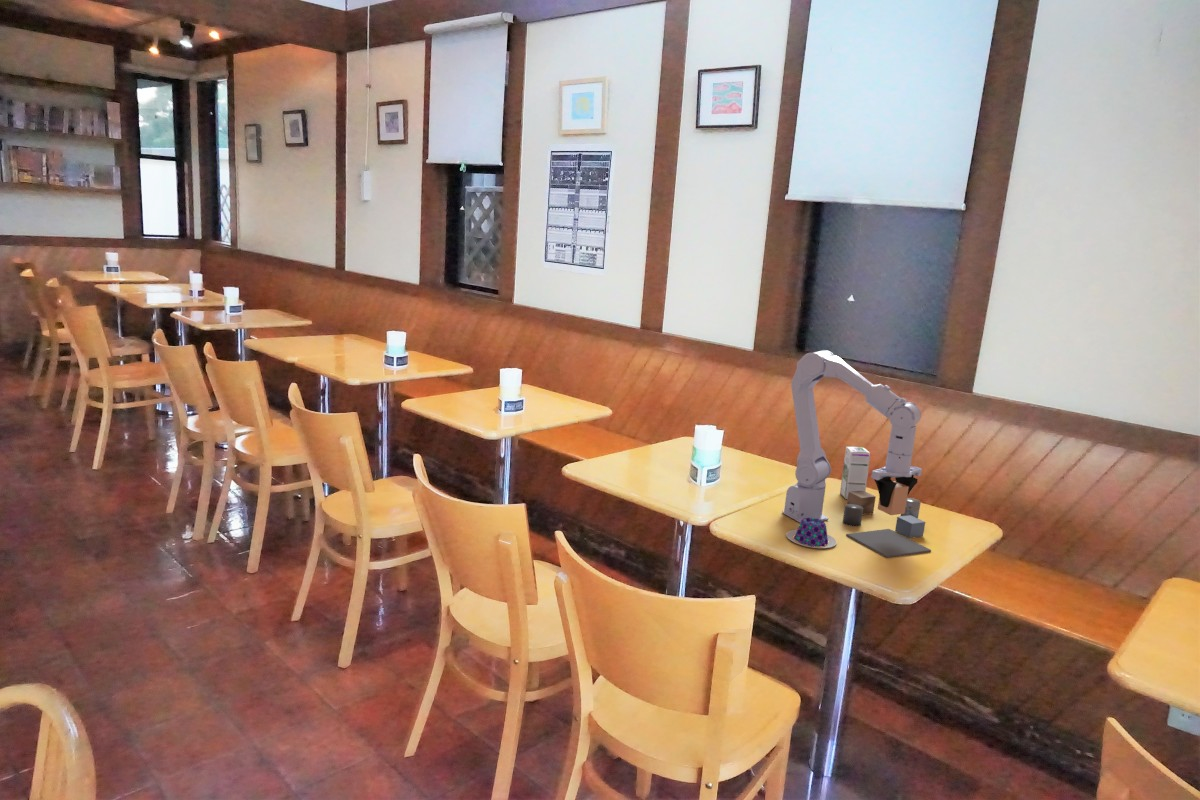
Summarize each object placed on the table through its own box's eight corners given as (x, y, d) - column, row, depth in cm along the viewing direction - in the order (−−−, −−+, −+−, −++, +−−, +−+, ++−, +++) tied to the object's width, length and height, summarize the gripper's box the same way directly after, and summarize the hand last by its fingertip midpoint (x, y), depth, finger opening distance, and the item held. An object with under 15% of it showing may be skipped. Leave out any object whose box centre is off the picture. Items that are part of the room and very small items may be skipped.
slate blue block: (909, 538, 201) (912, 523, 200) (895, 531, 206) (897, 516, 205) (922, 536, 203) (925, 522, 202) (908, 529, 207) (910, 515, 207)
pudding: (781, 530, 201) (783, 510, 200) (828, 533, 201) (831, 514, 200) (791, 549, 189) (794, 528, 188) (842, 552, 189) (845, 532, 188)
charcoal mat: (886, 558, 187) (887, 556, 187) (846, 535, 199) (846, 533, 199) (930, 551, 193) (931, 549, 193) (888, 530, 205) (888, 528, 205)
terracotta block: (890, 515, 195) (895, 488, 193) (877, 509, 199) (881, 482, 197) (904, 513, 197) (908, 486, 195) (891, 507, 201) (895, 481, 199)
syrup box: (864, 501, 227) (872, 452, 224) (844, 499, 227) (851, 451, 224) (858, 494, 233) (865, 447, 230) (838, 493, 233) (845, 445, 230)
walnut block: (859, 515, 216) (861, 497, 215) (846, 508, 220) (848, 491, 219) (873, 513, 218) (875, 496, 217) (860, 507, 222) (862, 490, 221)
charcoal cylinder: (851, 527, 206) (853, 510, 205) (838, 520, 210) (841, 504, 209) (864, 525, 208) (867, 509, 207) (852, 519, 212) (854, 503, 211)
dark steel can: (908, 523, 212) (912, 503, 211) (896, 517, 216) (899, 498, 215) (921, 522, 214) (924, 502, 212) (908, 516, 218) (911, 497, 216)
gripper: (889, 458, 188) (881, 513, 191) (934, 455, 194) (925, 507, 197) (868, 450, 194) (860, 503, 197) (912, 447, 200) (904, 498, 203)
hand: (891, 505), depth 197 cm, fingers closed on terracotta block, 4 cm apart
